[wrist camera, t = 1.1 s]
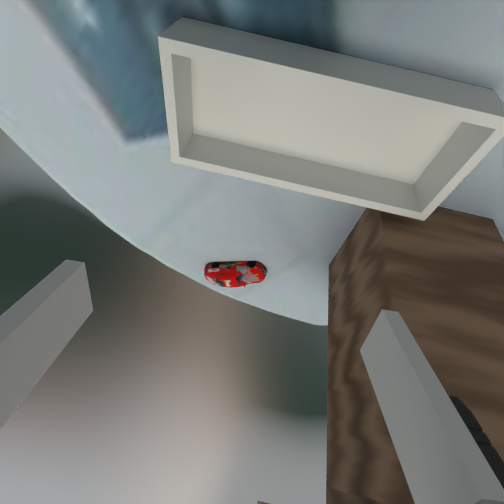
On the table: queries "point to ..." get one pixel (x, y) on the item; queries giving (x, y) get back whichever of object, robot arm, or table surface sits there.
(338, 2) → the table surface
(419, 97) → the tray
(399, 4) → the table surface
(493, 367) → the wooden block
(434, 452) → the robot arm
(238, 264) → the race car
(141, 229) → the table surface
